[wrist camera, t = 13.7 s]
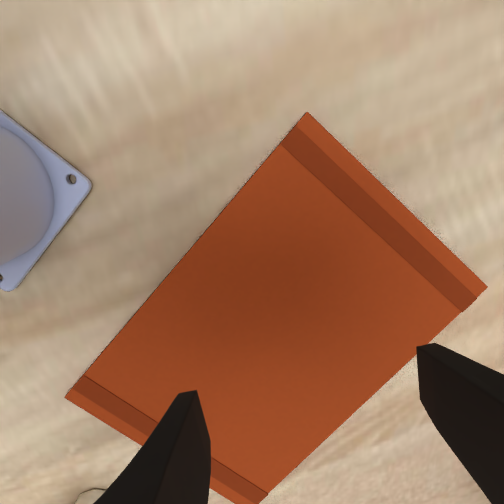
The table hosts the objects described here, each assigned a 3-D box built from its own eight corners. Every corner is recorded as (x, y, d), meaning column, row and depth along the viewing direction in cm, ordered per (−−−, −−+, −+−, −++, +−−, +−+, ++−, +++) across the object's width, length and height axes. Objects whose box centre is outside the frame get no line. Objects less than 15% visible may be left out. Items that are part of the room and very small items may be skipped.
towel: (66, 394, 23) (63, 398, 23) (306, 112, 20) (307, 111, 19) (248, 508, 27) (248, 513, 26) (485, 285, 23) (488, 287, 22)
